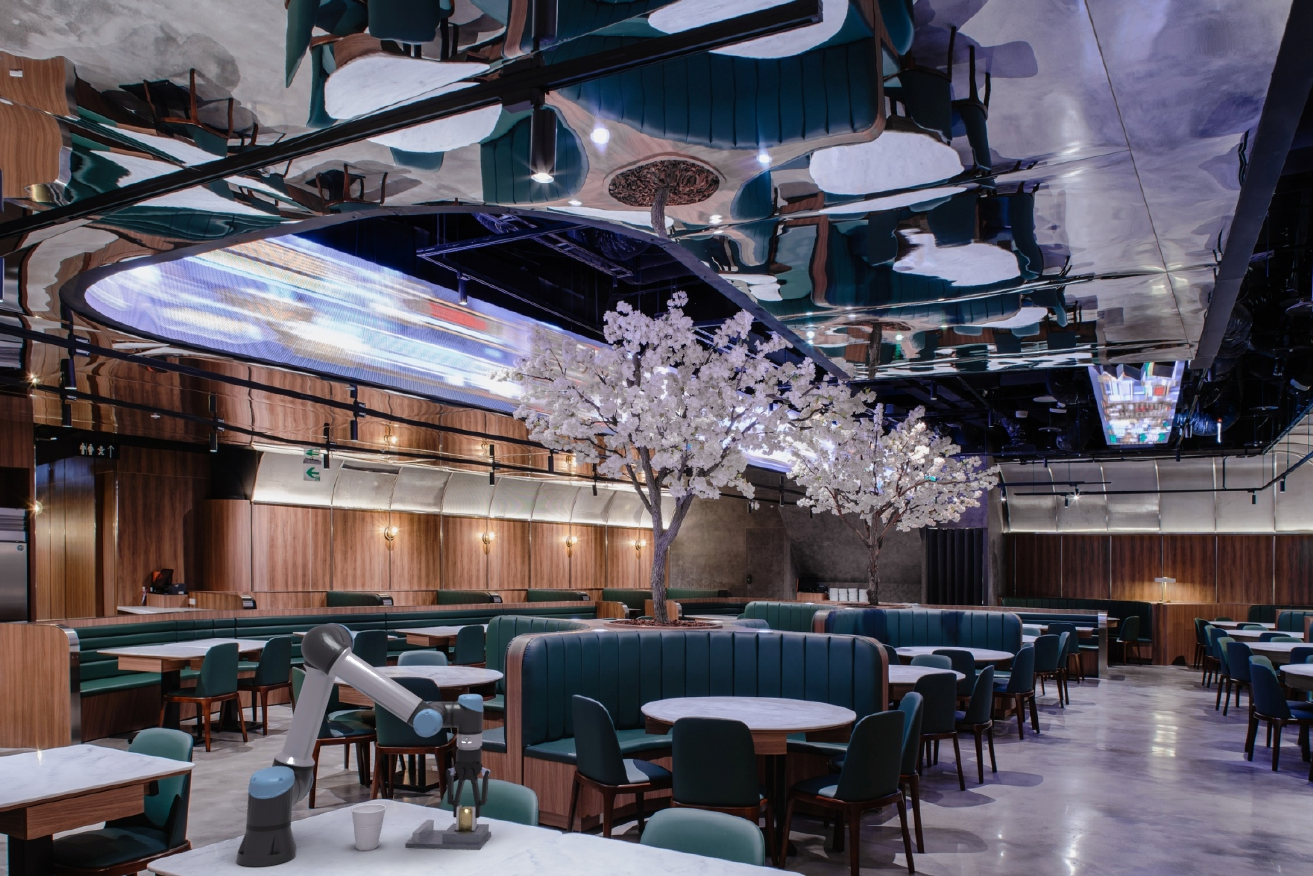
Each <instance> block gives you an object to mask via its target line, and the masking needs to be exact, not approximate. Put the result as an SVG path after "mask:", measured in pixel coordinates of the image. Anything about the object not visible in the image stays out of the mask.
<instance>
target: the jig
mask: <svg viewBox="0 0 1313 876" xmlns="http://www.w3.org/2000/svg"><path fill="white" fill-rule="evenodd" d="M434 823H435V819H427V820H425V821H424V822H423V823H422V824H421V825H420V826H418V828H416V829H415V830H414V831H412V837H411V838H410V839H408V841H406V842H405V844H404V847H405V848H407V849H433V850H434V849H435V848H436V849H441V850H443V849H444V850H471V851H472V850H479V851H480V850H481V849H482V847H483V846H484V845H485V844H486V842H487V841H488V840H489V839H490V838H491V837H492V831H490V830H489V829H490V827H489V826H490V824H488V823H477V828H476V829H475V830H474V832H459V830H456V822H455V823H452V824H450V826H449V827H448V828H447V829H446V830H445V829H444V830H442V829H441V830H440V829H434V827H435V826H434V825H435V824H434Z"/></svg>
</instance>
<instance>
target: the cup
mask: <svg viewBox="0 0 1313 876" xmlns="http://www.w3.org/2000/svg"><path fill="white" fill-rule="evenodd" d="M387 808H388V807H387V806H386V805H384V804H380V803H379V804H377V803H367V804H360V805H356V806H354V807H351V814H352V823H353V832H354V842H355V849H356V850H358V851H361V852H364V851H371V850H375V849H377V848H378V846H379V844H380V838H381V832H382V828H383V823H384V818H385V814H386V810H387Z"/></svg>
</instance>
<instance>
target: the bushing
mask: <svg viewBox="0 0 1313 876" xmlns="http://www.w3.org/2000/svg"><path fill="white" fill-rule="evenodd" d="M473 807H474V806H462V807H461V808H460V809H459V832H474V831H472V811H473Z"/></svg>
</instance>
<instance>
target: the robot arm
mask: <svg viewBox="0 0 1313 876" xmlns="http://www.w3.org/2000/svg"><path fill="white" fill-rule="evenodd" d="M300 645H301V647H300V649H301V650H300V651H301V654H302V656H303V658H304V661H303V664H302V665H303V667H304V668H305V670H306V673H305V676H304V679H303V682H302V686H301V689H300V692H299V696H298V699H297V702H296V704H295V709H294V711H293V714H292V719H291V720H290V721H291V722H290V724H289V727H288V731H287V734H286V737H285V741H284V745H283V747H282V750H281V751H280V752H278V753H276V754H275V755H274V759H273V761H272V762H273V763H272V765H271V766H269V767H266V768H261V769H259V770H256V771H255V772H254V773H252V775H251V776H250V778H249V784H248V788H247V791H248V796H247V809H246V810H247V811H246V822H245V823H246V824H245V825H246V826H245V832H244V835H243V837H242V841H241V843H240V846H239V848H238V850H237V855H236V863H237V864H238V865H241V866H243V867H268V866H274V865H279V864H280V865H281V864H284V863H286V862H289V861H291V860H293V859H294V858H295V857H296V852H297V846H296V841H295V838H294V834H293V831H292V814H293V813H292V812H293V807H294V806H295V805H297V804H298V803H299V802H301V801H302V800H303V799H304V798H306V796H307V795H308V793H309V792H310V790H311V789H312V787H313V782H314V773H313V772H314V768H315V765H316V761H315V760H314V757H313V753H314V750H315V746H316V743H317V739H318V737H319V733H320V730H321V727H322V723H323V721H324V717H325V712H326V709H327V706H328V703H329V700H330V697H331V694H332V691H333V690H332V689H333V687H334V684H335V680H336V678H338V679H340V680H341V681H343V682H345V683H346V684H347V685H349V686H351V687H352V688H353V689H355V690H357V691H358V692H360V693H361V694H363V695H364V696H366V697H368V698H369V699H370V700H372V701H373V702H375V703H376V704H378V705H379V706H381V707H382V708H384V709H385V710H387V711H388V712H390V713H392V714H393V715H395V717H397V718H398V719H400V720H401V721H403V722H405V723H407V724H408V725H409V726H411V727H412V728H413V730H414V732H415V733H416V735H418V736H419V737H422V738H429V737H432V736H435V735H436V734H438V733H439V732H440V731H441V730H442V729H443V728H457V730H456V731H457V732H456V747H457V749H456V757H455V765H454V767H451V768H447V769H446V770H445V774H446V778H447V789H446V790H447V791H446V792H447V793H446V794H447V801H446V803H447V805H450V806H452V807H453V814H452V817H453V818H456V820H455V821H456V822H455V823H456V830H459V809H460V808H461V807H463V806H462V804H461V802H460V801H461V797H462V794H463V789H464V786H465V781H470V784H471V787H472V793H473V801H474V806H472V807H473V811H472V831H474V830H475V829H476V828H477V824H478V819H479V818H480V817H481V810H482V809H481V808H482V806H484V805H486V804H487V802H488V794H489V792H488V791H489V779H490V774H491V772H492V770H491V769H490V768H486V767H484V766H483V764H482V760H483V759H482V757H483V754H482V753H483V749H482V748H481V747H482V746H483V727H484V726H483V725H484V724H483V723H484V711H485V710H484V698H483V696H482V695H481V694H477V693H469V694H468V693H467V694H461V695H459V696H458V699H457V701H433V700H432V701H425V700H423V699H422V698H421V697H420V696H419V697H418V696H417V695H416V694H414V693H413V692H412V691H411V690H408V689H407V688H406V687H404V686H403V685H401V684H400V683H398V682H396V681H395V680H393V679H392V678H391V677H389V676H388V675H386V674H385V673H383V672H382V671H380V670H379V669H377V668H376V667H374V666H372V665H371V664H369V663H368V662H367V661H364V660H363V659H362V658H361V657H360V656H358V655H356V654H354V653H353V650H354V648H355V647H354V646H355V639H354V635H353V633H352V631H351V630H350V629H349V627H347V626H345V625H343V624H339V623H333V622H330V623H327V624H323V625H316V626H314V627H312V628H311V629H310V630H308V631H307V632H306V633H305V634H304V635H303V639H302V640H301V644H300ZM480 773H481V776H482V785H481V793H480V786H479V782H478V781H479V778H478V776H479V775H480ZM455 774H457V776H458V781H457V787H456V790H454V787H455V786H454V785H455V784H454V783H455V781H454V780H455V778H454V775H455ZM454 791H455V792H454ZM454 793H455V794H454Z"/></svg>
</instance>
